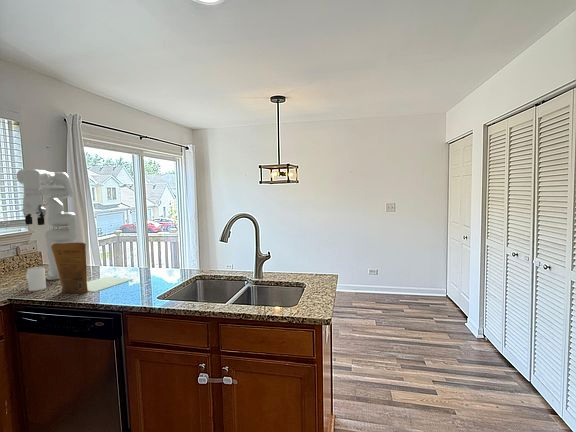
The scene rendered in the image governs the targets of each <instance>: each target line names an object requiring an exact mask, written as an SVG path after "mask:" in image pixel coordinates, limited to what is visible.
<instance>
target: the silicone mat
mask: <svg viewBox="0 0 576 432" xmlns="http://www.w3.org/2000/svg"><path fill="white" fill-rule="evenodd" d="M133 279H134V278H132V279H131V278H125V277H113V276H104V277H100V278H96V279H93V280H90V281H87V288H88V293H90V292H91V293H97V292H99V291H103V290H105V289H106V290H107V289H109V288H112V287H115V286H118V285H121V284H124V283H128V282H130V281H133Z"/></svg>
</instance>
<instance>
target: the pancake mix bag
mask: <svg viewBox="0 0 576 432" xmlns="http://www.w3.org/2000/svg"><path fill="white" fill-rule="evenodd" d="M51 249H52V252H53V255H54V259H55V263H56V266H57V269H58V273H59V277H60V279H59V280H60V283H61V292H62V293H63V294H78V295H79V294H86V293H89V291H88V288H87V282H88V281H87V280H88V279H87V269H88V267H87V244H86V243H85V242H74V243H55V244H53V245H51Z"/></svg>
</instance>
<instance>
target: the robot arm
mask: <svg viewBox="0 0 576 432" xmlns="http://www.w3.org/2000/svg"><path fill="white" fill-rule="evenodd" d="M16 180H17V181H18V183H20V184H21V185H22V186H23V200H22V210H21V211H22V212H23V216H24V219H25V225H33V216H32V215H35V214H36V216H37V219H36V220H37V226H43V225H45V217H46V211H47V222H48V223H47V224H48V226H49V227H52V228H53V229H52V228H51V229H48V230H46V231H45V233H44V240H45V244H46V248H47V260H48V261H47V262H48V271H47V272H46V274H47V275H48V276H47V277H46V280H50V281H56V280H60V277H59V273H58V269H57V266H56V263H55V259H54V255H53V252H52V249H51V245H53V244H55V243H77V241H78V217H77V215H76V213H75V212H70V211H69V212H68V211H67V212H65V211H64V209H65V207H64V204H63V203H62V201H60V199H69V198H72V197H74V189H73V185H72V181H71V179H70V177H69V175H68V174H67V173H66V172H63V171H61V172H60V171H57V172H56V171H55V172H54V171H47V170H44V169H34V168H33V169H32V168H30V169H28V168H27V169H20V170H18V171H17V172H16ZM43 199H44V201H45V202H46V205H47V209H46V208H45V207H44V201H43ZM66 227H67V228H66Z"/></svg>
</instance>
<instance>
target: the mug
mask: <svg viewBox="0 0 576 432" xmlns="http://www.w3.org/2000/svg"><path fill="white" fill-rule="evenodd" d="M26 270H27V272H26V275H25V278H26V279H25V280H26V281H27V283H28V288H27V290H28V291H30V292H32V291H33V292H34V291H37V292H38V291H42V290H45V289H47V284H46V283H47V282H46V280H47V278H46V269H45V266H35V267H30V268H27V269H26Z"/></svg>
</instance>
